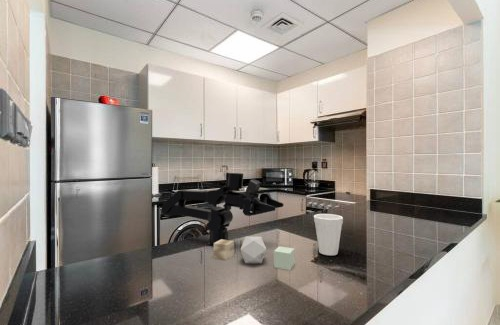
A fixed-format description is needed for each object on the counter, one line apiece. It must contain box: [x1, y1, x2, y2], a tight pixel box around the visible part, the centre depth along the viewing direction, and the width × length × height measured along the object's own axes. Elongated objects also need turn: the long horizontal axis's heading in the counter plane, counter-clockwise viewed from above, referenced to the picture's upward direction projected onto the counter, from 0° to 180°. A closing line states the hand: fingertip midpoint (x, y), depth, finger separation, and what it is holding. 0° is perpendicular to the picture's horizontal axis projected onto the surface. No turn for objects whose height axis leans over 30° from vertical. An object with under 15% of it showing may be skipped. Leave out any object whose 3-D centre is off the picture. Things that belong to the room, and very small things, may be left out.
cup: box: [313, 213, 344, 256], centre depth 86 cm, size 10×10×13 cm
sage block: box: [273, 246, 295, 271], centre depth 75 cm, size 5×5×5 cm
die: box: [240, 236, 267, 265], centre depth 79 cm, size 8×9×10 cm
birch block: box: [213, 239, 235, 261], centre depth 83 cm, size 5×5×5 cm
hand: (279, 206), depth 87 cm, fingers open, 9 cm apart
